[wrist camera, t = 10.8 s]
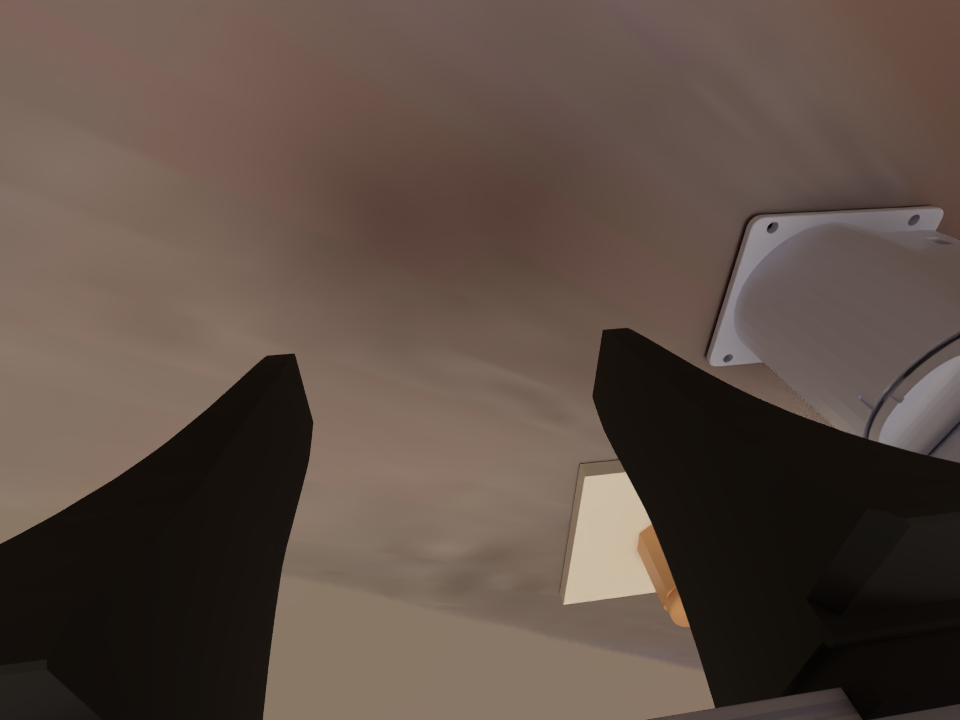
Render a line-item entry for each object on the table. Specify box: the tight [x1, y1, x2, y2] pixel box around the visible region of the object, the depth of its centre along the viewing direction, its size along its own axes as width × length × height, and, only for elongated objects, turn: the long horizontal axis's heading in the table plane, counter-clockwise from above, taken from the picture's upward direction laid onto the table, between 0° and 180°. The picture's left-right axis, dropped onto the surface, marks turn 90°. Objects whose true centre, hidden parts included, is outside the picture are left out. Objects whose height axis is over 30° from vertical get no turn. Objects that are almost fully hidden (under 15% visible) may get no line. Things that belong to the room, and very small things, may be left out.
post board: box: [560, 460, 656, 605], centre depth 32 cm, size 14×14×5 cm
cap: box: [637, 524, 690, 627], centre depth 31 cm, size 5×5×5 cm
